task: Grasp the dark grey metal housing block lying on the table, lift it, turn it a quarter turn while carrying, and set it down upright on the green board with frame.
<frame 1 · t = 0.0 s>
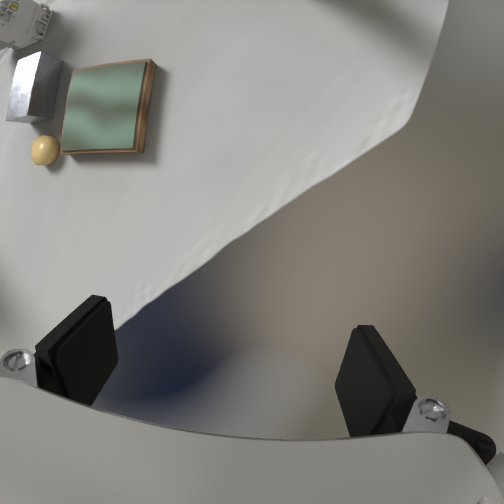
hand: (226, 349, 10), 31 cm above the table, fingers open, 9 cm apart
green board with frame: (108, 109, 36), on the table
circuit breaker: (25, 34, 30), on the table
cream dome: (49, 150, 37), on the table
housing: (46, 92, 34), on the table
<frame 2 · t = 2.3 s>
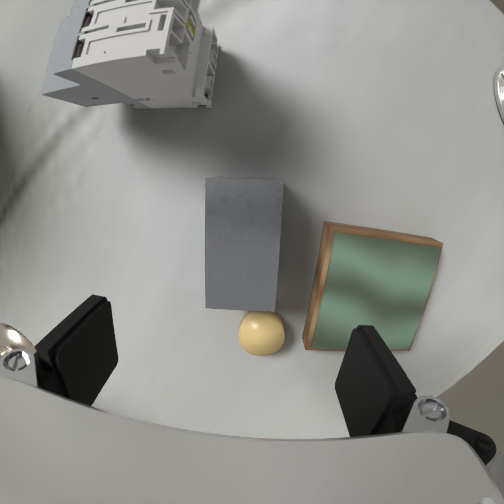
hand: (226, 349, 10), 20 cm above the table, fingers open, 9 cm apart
green board with frame: (370, 288, 31), on the table
circuit breaker: (151, 77, 25), on the table
cream dome: (261, 326, 33), on the table
housing: (245, 230, 30), on the table
lamp: (13, 350, 36), on the table
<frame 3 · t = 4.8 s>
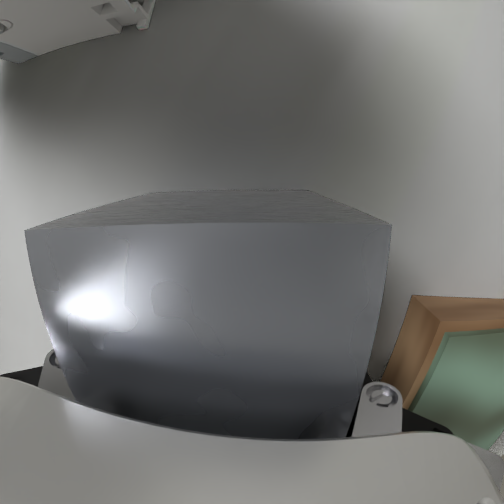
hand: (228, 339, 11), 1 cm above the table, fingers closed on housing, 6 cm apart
green board with frame: (455, 393, 14), on the table
circuit breaker: (50, 5, 8), on the table
housing: (231, 322, 12), on the table, touching gripper
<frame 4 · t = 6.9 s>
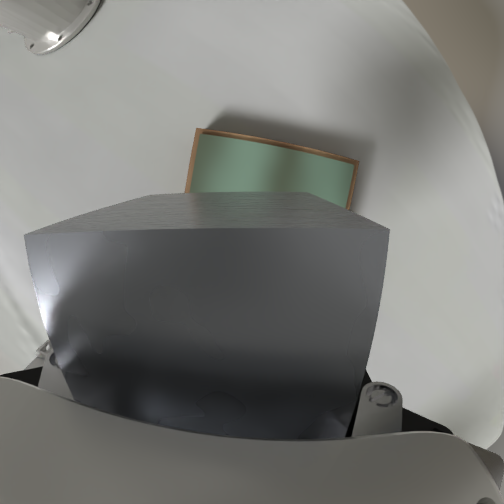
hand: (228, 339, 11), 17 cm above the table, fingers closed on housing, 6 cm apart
green board with frame: (263, 218, 27), on the table
circuit breaker: (82, 380, 33), on the table
housing: (230, 324, 12), point 16 cm above the table, touching gripper
when the fingers open (5 cm above the table, at t = 9.5 s): housing drops 1 cm, resting on green board with frame.
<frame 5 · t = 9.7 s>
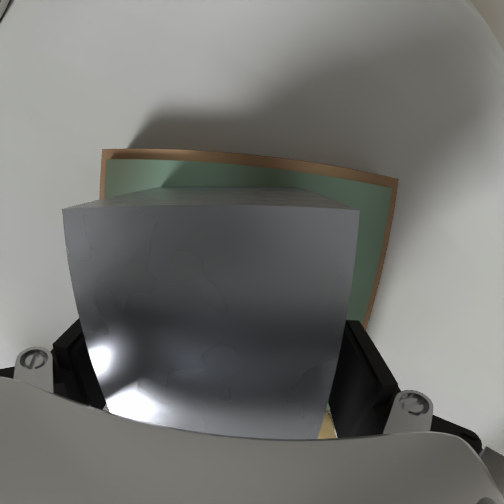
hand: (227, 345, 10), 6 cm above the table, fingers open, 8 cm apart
green board with frame: (237, 285, 16), on the table
cream dome: (300, 426, 20), on the table
housing: (229, 306, 13), point 3 cm above the table, touching green board with frame
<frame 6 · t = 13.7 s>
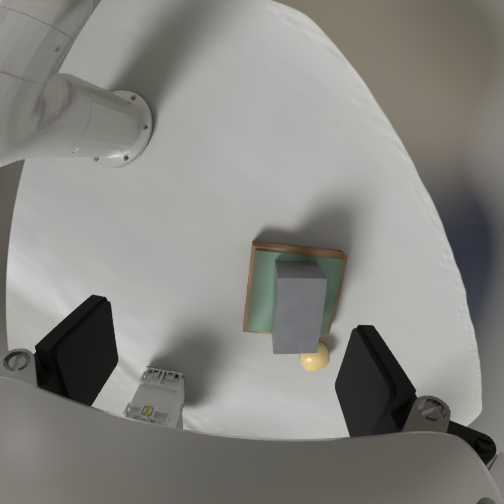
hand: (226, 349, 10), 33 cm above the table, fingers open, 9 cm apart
green board with frame: (291, 289, 45), on the table
circuit breaker: (167, 394, 53), on the table
cream dome: (313, 351, 49), on the table
housing: (293, 296, 42), point 3 cm above the table, touching green board with frame
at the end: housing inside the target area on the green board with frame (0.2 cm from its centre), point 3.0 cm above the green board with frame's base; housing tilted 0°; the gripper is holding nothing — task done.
